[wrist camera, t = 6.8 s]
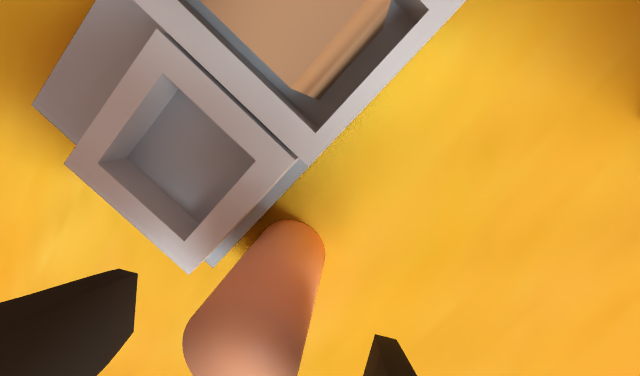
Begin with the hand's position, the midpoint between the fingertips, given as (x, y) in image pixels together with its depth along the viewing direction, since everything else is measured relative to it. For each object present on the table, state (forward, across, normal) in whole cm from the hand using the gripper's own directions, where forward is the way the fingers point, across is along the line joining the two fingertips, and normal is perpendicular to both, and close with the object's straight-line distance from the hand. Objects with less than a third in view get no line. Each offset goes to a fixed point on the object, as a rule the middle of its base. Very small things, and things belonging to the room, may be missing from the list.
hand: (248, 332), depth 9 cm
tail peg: (+6, 0, 0) cm, 6 cm away
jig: (+6, +4, -8) cm, 10 cm away
